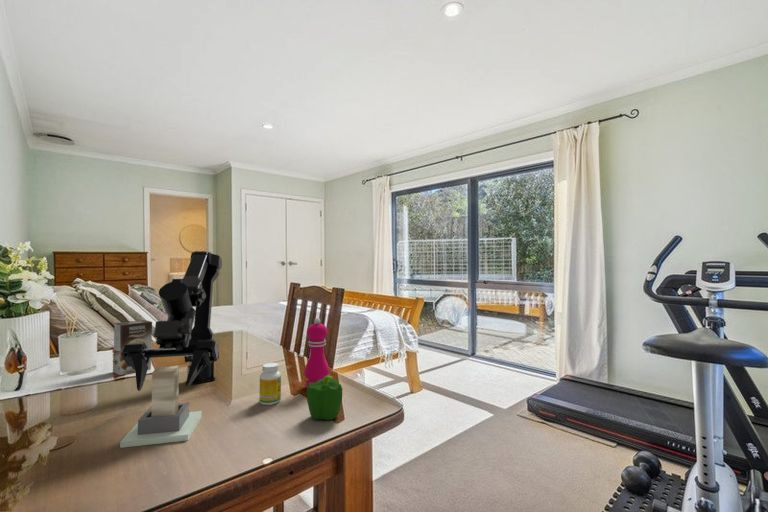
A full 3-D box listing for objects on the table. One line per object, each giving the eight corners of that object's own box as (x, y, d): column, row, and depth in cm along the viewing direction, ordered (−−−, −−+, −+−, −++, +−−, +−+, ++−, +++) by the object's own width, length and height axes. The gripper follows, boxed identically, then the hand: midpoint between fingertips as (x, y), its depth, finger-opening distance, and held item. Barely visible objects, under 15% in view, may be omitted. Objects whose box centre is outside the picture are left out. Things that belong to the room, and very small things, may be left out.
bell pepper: (303, 412, 88) (303, 371, 88) (336, 407, 91) (336, 367, 91) (310, 427, 80) (311, 381, 80) (346, 421, 83) (346, 377, 83)
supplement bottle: (259, 399, 96) (259, 362, 96) (280, 396, 98) (280, 361, 98) (259, 406, 91) (259, 368, 91) (281, 404, 93) (281, 366, 93)
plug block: (157, 421, 80) (158, 367, 80) (178, 419, 81) (178, 365, 81) (151, 430, 76) (152, 372, 76) (172, 427, 77) (173, 370, 77)
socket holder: (144, 421, 82) (144, 402, 83) (201, 416, 85) (202, 398, 86) (120, 447, 71) (120, 426, 71) (188, 440, 74) (188, 419, 74)
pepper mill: (305, 383, 109) (306, 316, 109) (330, 382, 110) (330, 316, 110) (302, 391, 102) (303, 320, 102) (328, 390, 103) (329, 320, 103)
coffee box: (119, 375, 115) (120, 325, 115) (112, 372, 119) (113, 323, 119) (151, 369, 123) (152, 321, 123) (143, 365, 126) (144, 319, 127)
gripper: (124, 307, 80) (98, 372, 69) (216, 305, 85) (205, 365, 74) (138, 335, 87) (116, 398, 77) (222, 332, 92) (212, 391, 81)
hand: (163, 388), depth 77 cm, fingers open, 9 cm apart
